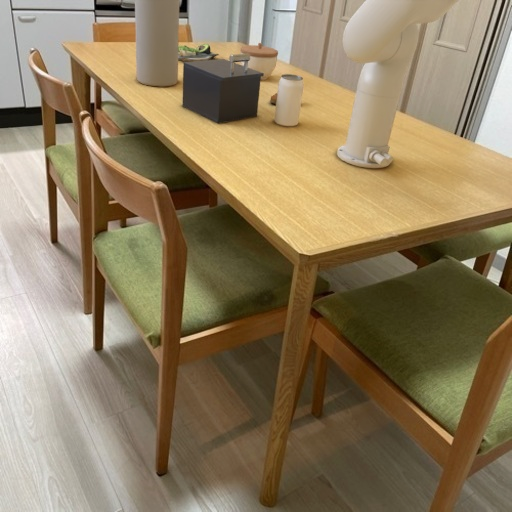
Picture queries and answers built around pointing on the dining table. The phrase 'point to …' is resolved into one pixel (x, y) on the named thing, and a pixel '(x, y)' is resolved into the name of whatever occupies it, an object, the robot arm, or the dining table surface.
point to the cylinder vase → (157, 41)
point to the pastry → (274, 98)
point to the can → (289, 100)
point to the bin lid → (225, 68)
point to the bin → (220, 96)
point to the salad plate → (195, 53)
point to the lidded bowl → (261, 58)
